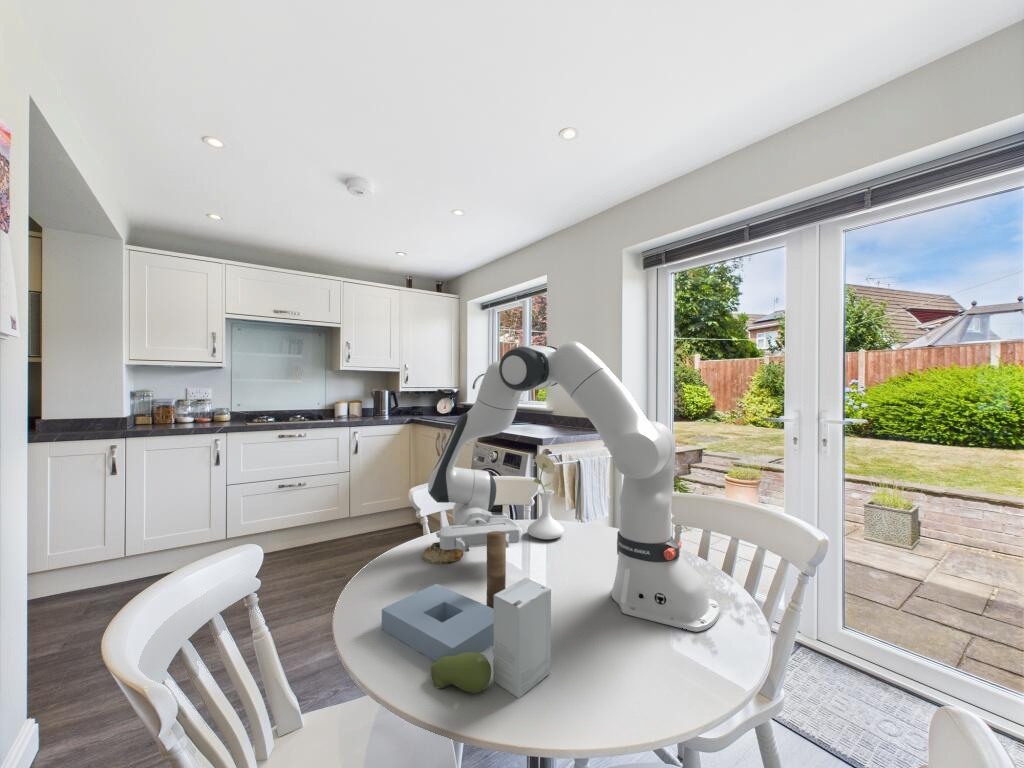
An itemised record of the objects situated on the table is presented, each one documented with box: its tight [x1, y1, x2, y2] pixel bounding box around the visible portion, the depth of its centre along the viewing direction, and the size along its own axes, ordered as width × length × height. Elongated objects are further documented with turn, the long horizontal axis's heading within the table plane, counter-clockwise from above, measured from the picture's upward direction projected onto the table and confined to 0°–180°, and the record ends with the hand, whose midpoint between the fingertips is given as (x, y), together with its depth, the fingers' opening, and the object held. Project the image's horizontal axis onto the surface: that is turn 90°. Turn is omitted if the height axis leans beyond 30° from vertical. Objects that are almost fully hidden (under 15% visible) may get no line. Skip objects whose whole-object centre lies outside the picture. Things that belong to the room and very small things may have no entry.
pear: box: [430, 652, 492, 694], centre depth 74 cm, size 6×5×10 cm
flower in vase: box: [526, 453, 565, 540], centre depth 142 cm, size 13×11×25 cm
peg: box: [486, 531, 507, 609], centre depth 97 cm, size 4×4×16 cm
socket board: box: [381, 583, 494, 662], centre depth 89 cm, size 20×14×4 cm
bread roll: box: [421, 541, 464, 565], centre depth 125 cm, size 11×11×5 cm
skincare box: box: [492, 577, 552, 699], centre depth 75 cm, size 8×6×15 cm
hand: (486, 546), depth 107 cm, fingers open, 8 cm apart
